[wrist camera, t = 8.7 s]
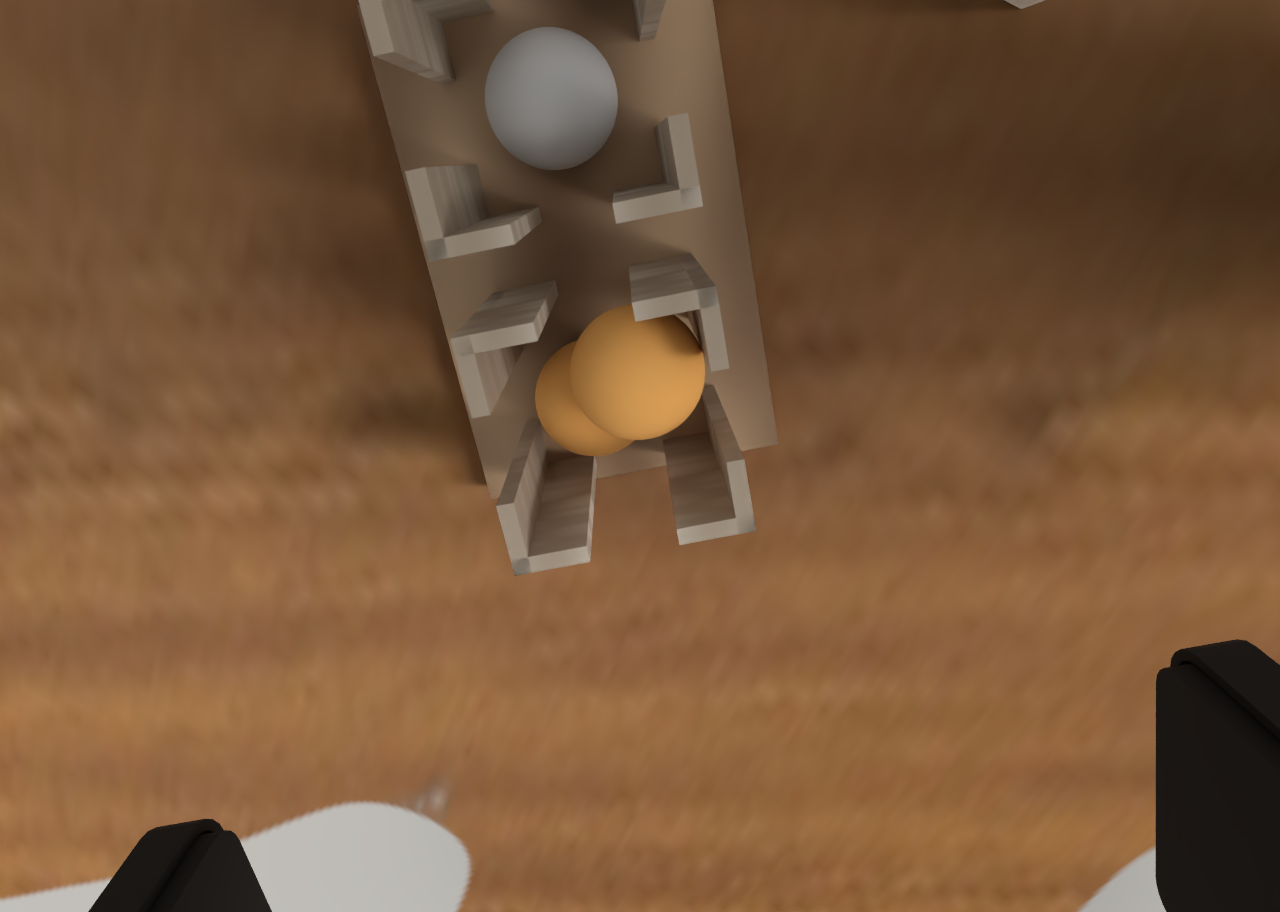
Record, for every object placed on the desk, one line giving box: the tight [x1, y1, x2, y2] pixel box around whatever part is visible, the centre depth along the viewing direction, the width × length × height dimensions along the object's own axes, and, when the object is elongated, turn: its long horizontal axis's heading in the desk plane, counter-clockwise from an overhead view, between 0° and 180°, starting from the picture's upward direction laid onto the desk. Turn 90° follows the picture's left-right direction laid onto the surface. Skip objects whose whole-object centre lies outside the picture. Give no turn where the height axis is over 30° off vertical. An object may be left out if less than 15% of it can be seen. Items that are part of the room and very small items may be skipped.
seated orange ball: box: [535, 340, 634, 456], centre depth 29 cm, size 4×4×4 cm
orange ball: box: [570, 304, 705, 440], centre depth 25 cm, size 4×4×4 cm
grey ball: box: [485, 27, 618, 170], centre depth 26 cm, size 4×4×4 cm
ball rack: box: [356, 0, 778, 576], centre depth 26 cm, size 11×17×9 cm, turn 11°
